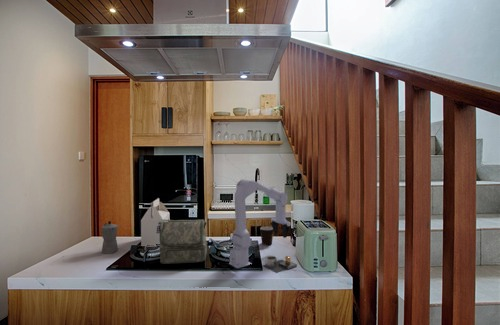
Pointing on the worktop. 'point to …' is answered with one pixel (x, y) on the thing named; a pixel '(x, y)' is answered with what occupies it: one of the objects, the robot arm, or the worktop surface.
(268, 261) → the ring
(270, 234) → the coffee mug
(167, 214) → the gable box
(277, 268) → the mat
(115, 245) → the coffeepot
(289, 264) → the doorknob
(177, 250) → the lunch bag
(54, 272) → the worktop surface
